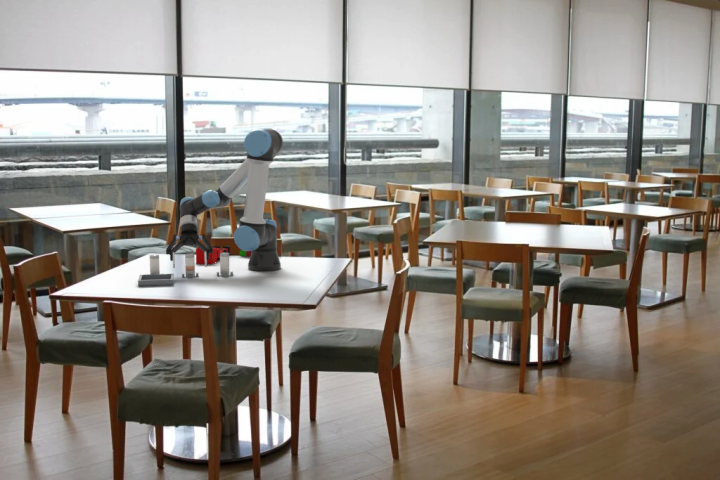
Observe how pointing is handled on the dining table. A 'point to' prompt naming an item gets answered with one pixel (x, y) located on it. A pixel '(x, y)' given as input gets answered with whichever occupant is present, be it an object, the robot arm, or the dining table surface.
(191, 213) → the robot arm
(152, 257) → the plain fuse
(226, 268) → the plain fuse
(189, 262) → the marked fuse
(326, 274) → the dining table surface
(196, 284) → the dining table surface
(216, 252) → the toy
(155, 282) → the charcoal tray
